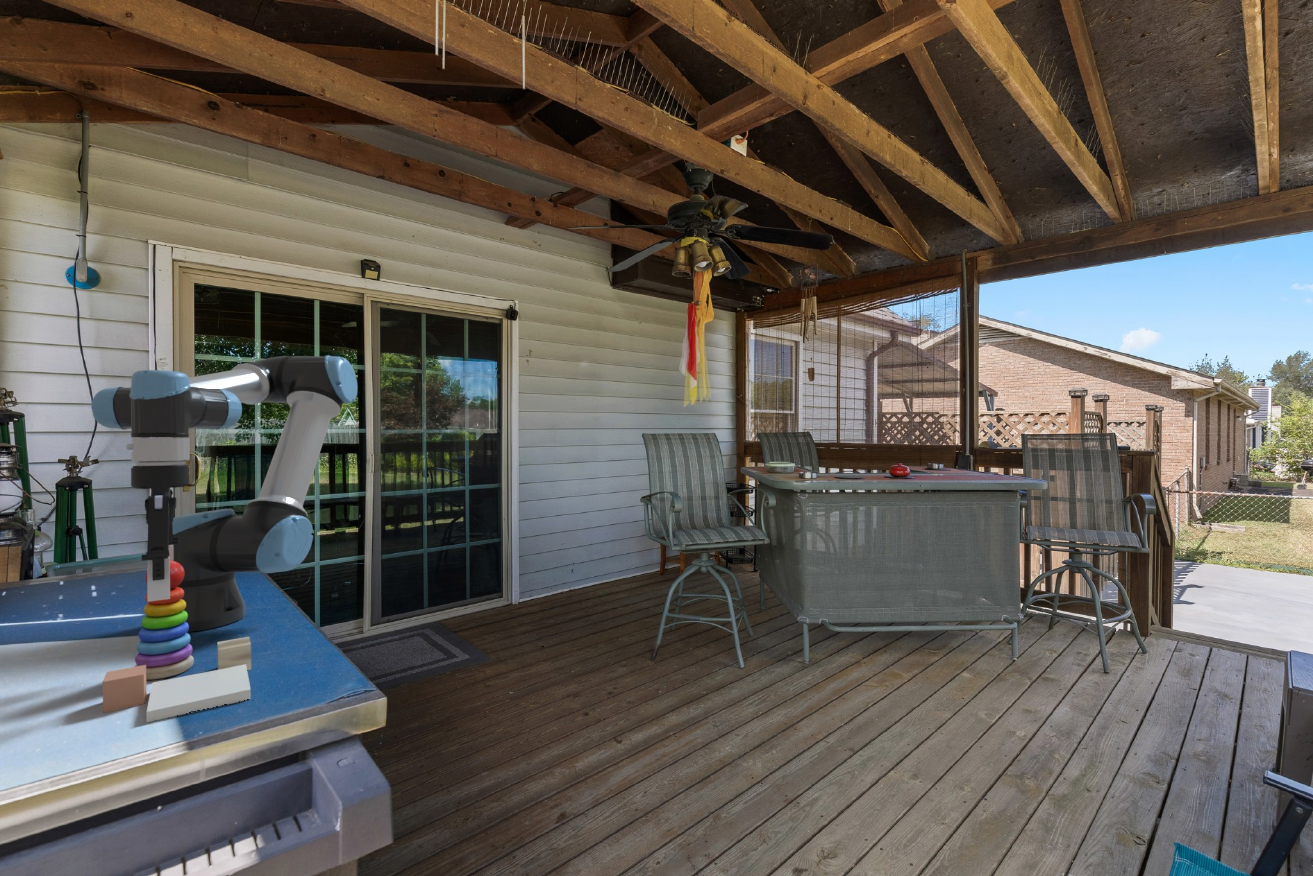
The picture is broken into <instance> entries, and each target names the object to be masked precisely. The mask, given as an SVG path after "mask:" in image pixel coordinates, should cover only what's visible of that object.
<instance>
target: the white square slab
mask: <svg viewBox="0 0 1313 876" xmlns="http://www.w3.org/2000/svg"><path fill="white" fill-rule="evenodd" d="M248 672H249V671H247V666H246V664H245V665H240V666H235V667H229V668H224V669H219V670H218V669H214V670H211V671H204V672H201V673H200V672H199V673H194V674H189V675H185V676H178V677H175V678H170V679H169V678H168V679H164V680H159V681H154V682H152V684H151V688H150V692H149V693H150V694H149V697H148V701H147V702H148V703H147V708H146V723H152V722H155V720H156V721H160V720H164V719H168V717H169V718H172V717H177V715H178V716H182V715H186V713H187V714H190V713H189V712H191V711H196V712H198V711H197V710H200V711H204V710H203V709H205V710H208V709H207V708H209V709H213V707H214V708H217V707H216V706H218V707H221V706H222V705H223V706H225V705H224V704H227V705H230V704H231V705H232V704H235V703H239V701H240V702H244V700H245V701H248V700H247V699H249V700H252V699H251V697H252V694H251V690H252V689H251V683H250V678H249V673H248ZM191 713H192V712H191Z"/></svg>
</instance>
